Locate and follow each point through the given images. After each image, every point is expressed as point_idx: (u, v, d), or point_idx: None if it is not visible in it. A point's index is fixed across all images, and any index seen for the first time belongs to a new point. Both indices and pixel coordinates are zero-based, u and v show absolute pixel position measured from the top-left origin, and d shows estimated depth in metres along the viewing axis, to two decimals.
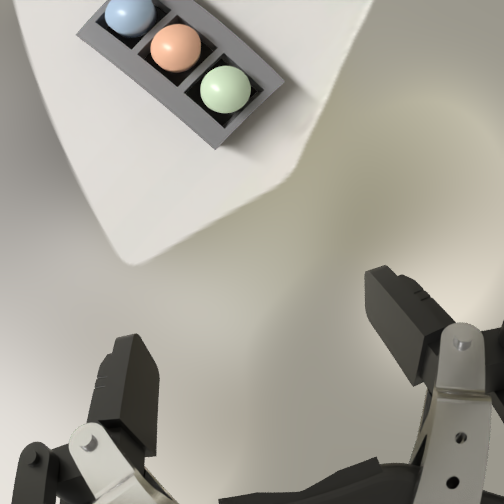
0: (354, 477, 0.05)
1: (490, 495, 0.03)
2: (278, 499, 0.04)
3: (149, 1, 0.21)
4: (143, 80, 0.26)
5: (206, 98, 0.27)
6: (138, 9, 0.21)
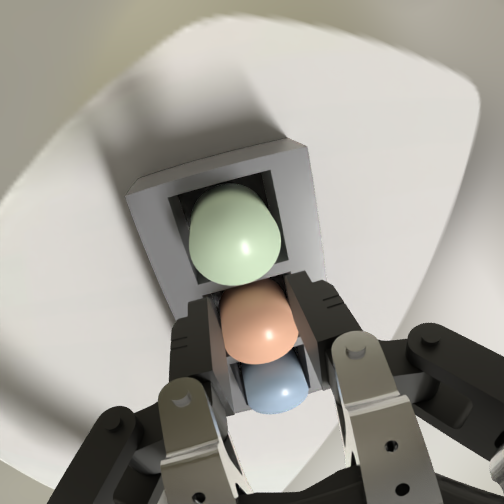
0: (354, 477, 0.05)
1: (490, 495, 0.03)
2: (278, 499, 0.04)
3: (251, 395, 0.21)
4: None
5: (273, 248, 0.16)
6: (268, 393, 0.22)
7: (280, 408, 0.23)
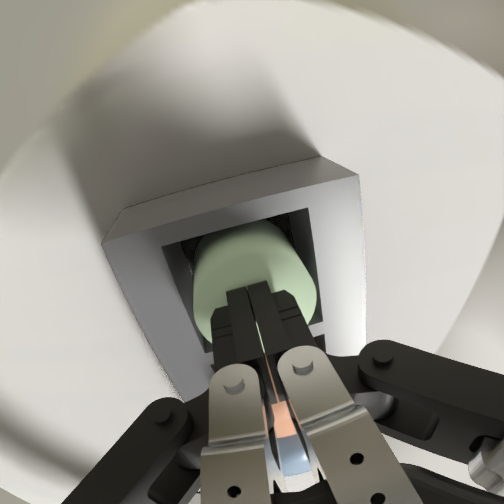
0: None
1: (490, 495, 0.03)
2: (278, 499, 0.05)
3: None
4: None
5: (306, 309, 0.12)
6: (288, 460, 0.17)
7: (299, 470, 0.18)
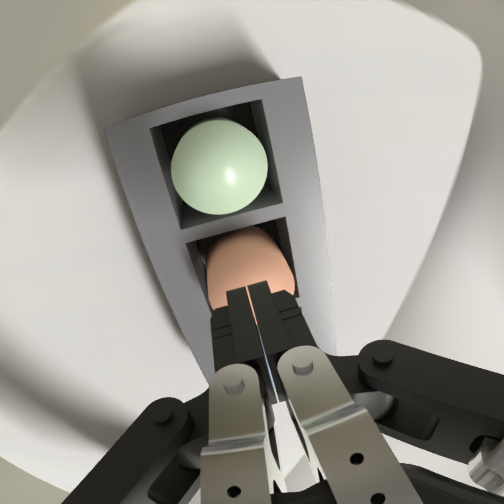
0: None
1: (490, 495, 0.03)
2: (278, 499, 0.04)
3: None
4: (320, 257, 0.19)
5: (259, 173, 0.15)
6: None
7: None
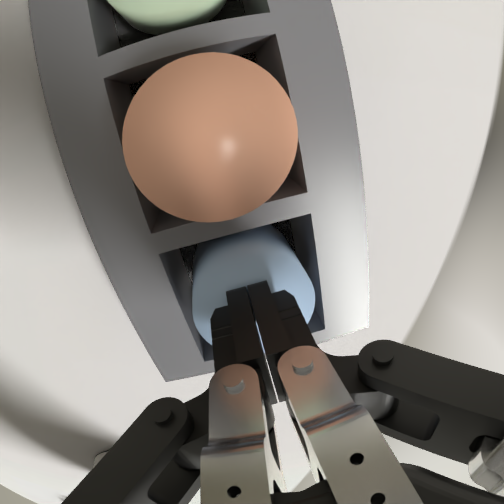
0: None
1: (490, 495, 0.03)
2: (278, 499, 0.04)
3: (198, 301, 0.11)
4: (340, 114, 0.10)
5: None
6: None
7: (261, 342, 0.12)
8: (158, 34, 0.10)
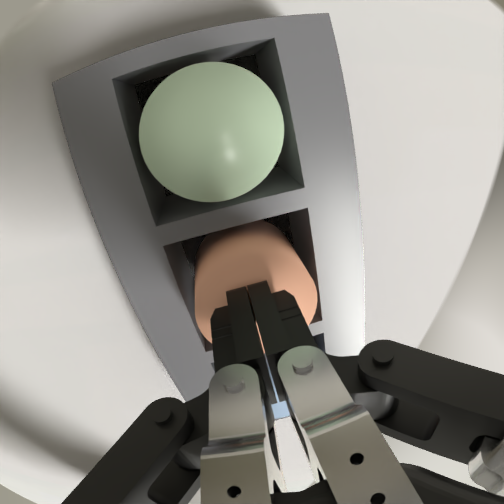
0: None
1: (490, 495, 0.03)
2: (278, 499, 0.04)
3: None
4: (352, 265, 0.13)
5: (272, 139, 0.10)
6: None
7: (282, 411, 0.16)
8: None
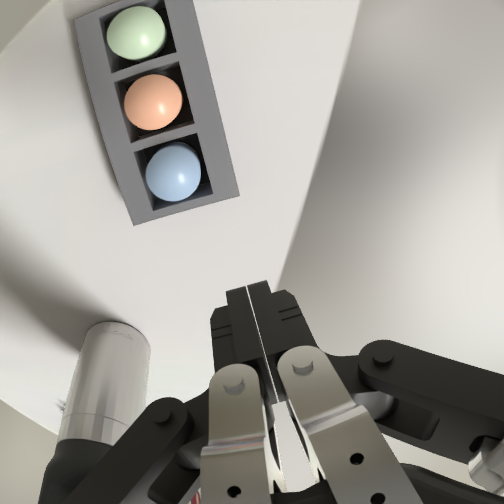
0: None
1: (490, 495, 0.03)
2: (278, 499, 0.04)
3: (148, 170, 0.25)
4: (207, 90, 0.23)
5: (158, 31, 0.20)
6: (163, 168, 0.25)
7: (177, 193, 0.26)
8: (136, 61, 0.23)
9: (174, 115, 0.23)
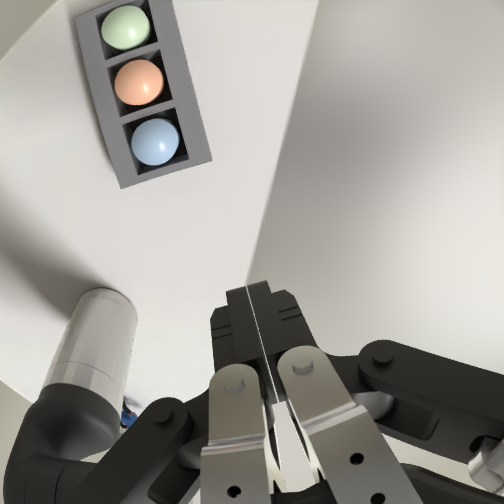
0: None
1: (490, 495, 0.03)
2: (278, 499, 0.04)
3: (133, 139, 0.28)
4: (183, 71, 0.27)
5: (142, 25, 0.23)
6: (146, 137, 0.28)
7: (157, 158, 0.30)
8: (126, 51, 0.27)
9: (155, 92, 0.27)
